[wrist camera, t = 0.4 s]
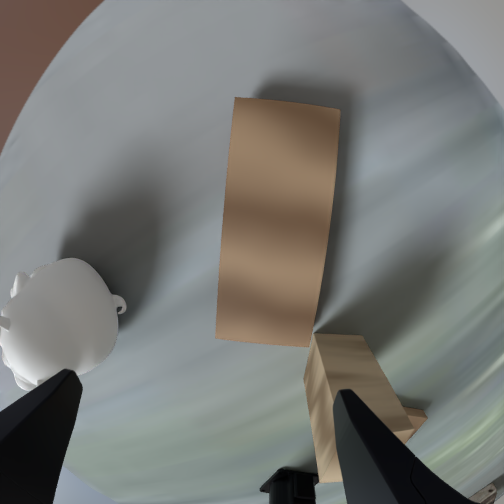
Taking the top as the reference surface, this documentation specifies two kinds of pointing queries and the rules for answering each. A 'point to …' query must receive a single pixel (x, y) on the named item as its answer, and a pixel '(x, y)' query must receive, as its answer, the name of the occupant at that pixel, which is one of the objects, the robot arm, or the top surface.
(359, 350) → the upright offcut
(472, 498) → the sculpture
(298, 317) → the plank stack
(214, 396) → the top surface
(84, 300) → the figurine
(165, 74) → the top surface
